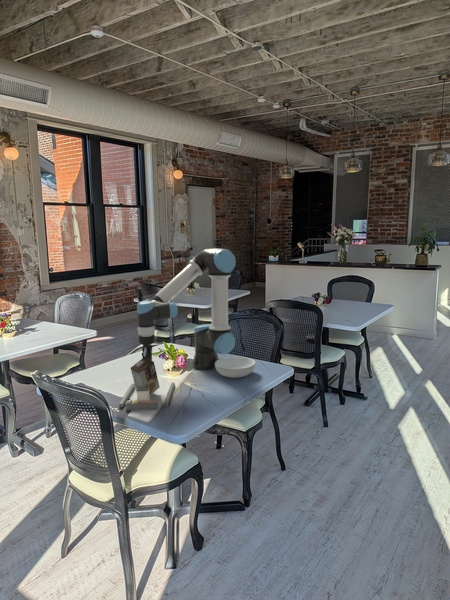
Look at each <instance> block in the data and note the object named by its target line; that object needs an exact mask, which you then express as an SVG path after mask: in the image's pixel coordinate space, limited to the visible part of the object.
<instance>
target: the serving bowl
mask: <svg viewBox="0 0 450 600" xmlns="http://www.w3.org/2000/svg"><path fill="white" fill-rule="evenodd" d="M255 367H256V361H255V360H254V359H253V358H249V357H246V356H226V357H223V358H219V360H217V361H216V362H215V371H217V373H218V374H219V375H221V376H224V377H226V378H230V379H231V378H232V379H238V378H242V377H243V378H244V377H246V376H249V375H250V374H251V373H253V371H254V369H255Z"/></svg>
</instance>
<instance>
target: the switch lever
mask: <svg viewBox="0 0 450 600" xmlns="http://www.w3.org/2000/svg"><path fill="white" fill-rule="evenodd" d="M150 397H151V395H149V387H138V388H137V391H136V398H137V400H139V402H140V401H151V398H150Z"/></svg>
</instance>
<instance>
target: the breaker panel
mask: <svg viewBox="0 0 450 600" xmlns="http://www.w3.org/2000/svg"><path fill="white" fill-rule="evenodd" d="M175 388H176V383H175V382H171V383H170V385H169V388H168V390H167V393H166V395H165V397H164V398H165V399H164V401H163V407H164V408H167V407H168V406H169V403H170V400H171V398H172V395H173V392H174V390H175ZM135 389H136V387H135V383H130V386H129V387H128V388H127V391H126V393H124V395H123V396H122V398H121V400H120V402H119V403H118V407H119V409H123V408H124V407H123V406H125V411H149V410H150V411H152V410H157V411H158V410H159V409H160V401H159V400H150V401H140V402H139V400H138V399H135V400H133V401H132V399H129V398H130V397H131V395H132V393H133V392H134V390H135ZM120 407H121V408H120ZM122 407H123V408H122Z"/></svg>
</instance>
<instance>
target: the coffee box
mask: <svg viewBox="0 0 450 600" xmlns="http://www.w3.org/2000/svg"><path fill="white" fill-rule="evenodd" d="M130 371H131V375H132V379H133V384H135V390H136V392H137V388H138V387H149V395H150V396H151V395H153V393H154V394H155V392H156V391H157V390H158V389H160V382H159V377H158V374H157V368H156V366H155V361H153V360H152V361H151V360H150V359H148V358H146V357H144V358H143V357H142V358H141V359H140V360H139V361H137V362H136V363H135V364H134V365H132V366H131V367H130Z"/></svg>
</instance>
